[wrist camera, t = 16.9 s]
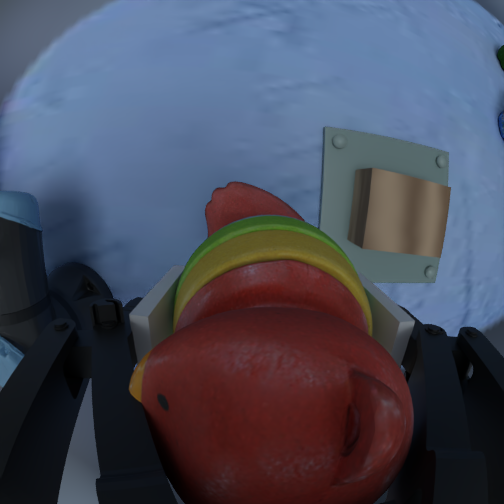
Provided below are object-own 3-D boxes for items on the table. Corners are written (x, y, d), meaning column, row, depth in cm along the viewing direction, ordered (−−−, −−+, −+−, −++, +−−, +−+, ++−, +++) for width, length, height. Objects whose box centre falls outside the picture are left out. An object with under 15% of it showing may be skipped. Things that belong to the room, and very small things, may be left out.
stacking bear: (219, 172, 19) (19, 100, 2) (349, 226, 20) (571, 347, 2) (172, 307, 21) (62, 514, 4) (291, 348, 22) (338, 561, 5)
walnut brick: (347, 239, 38) (362, 248, 33) (355, 169, 36) (372, 167, 30) (419, 248, 39) (440, 257, 33) (428, 185, 36) (450, 187, 30)
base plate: (313, 279, 41) (316, 283, 39) (323, 128, 36) (327, 125, 34) (432, 280, 41) (438, 284, 39) (445, 152, 36) (452, 152, 34)
